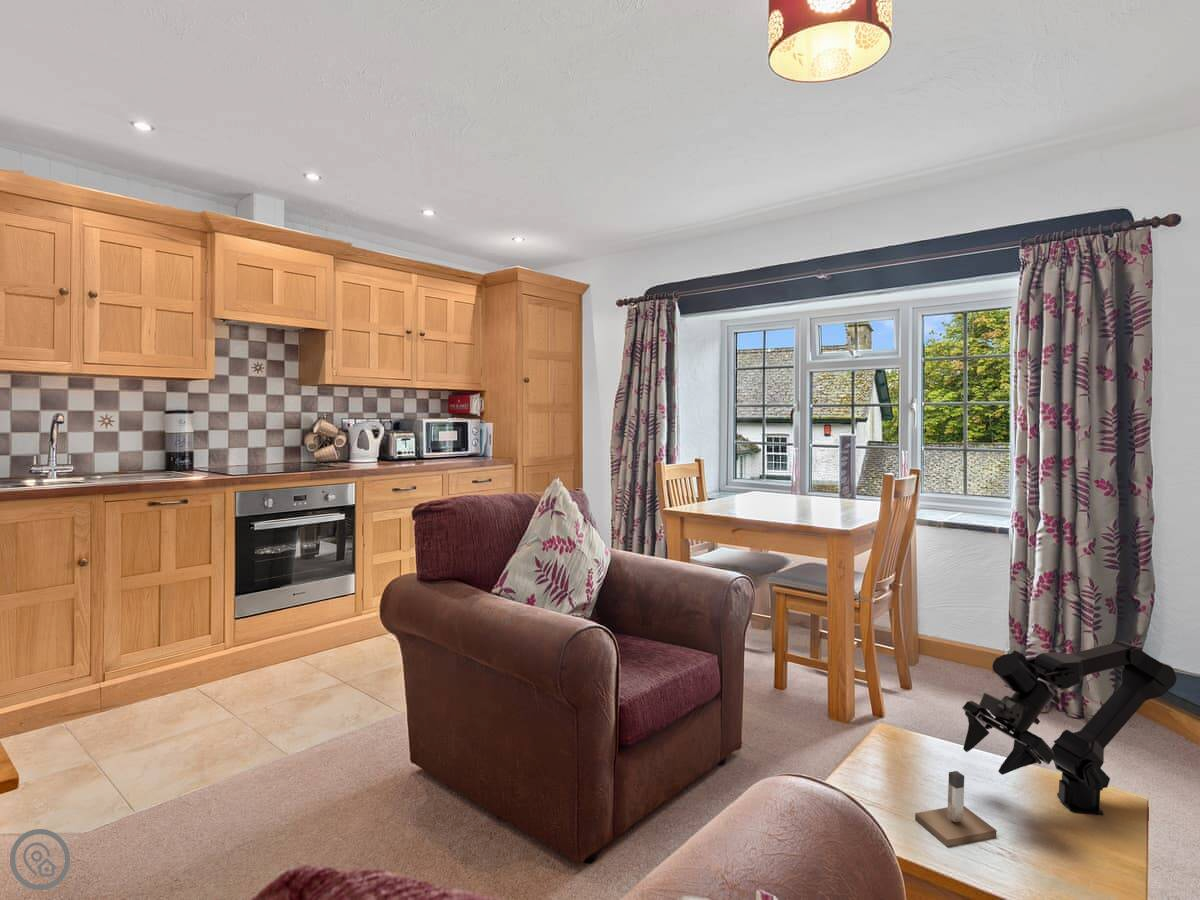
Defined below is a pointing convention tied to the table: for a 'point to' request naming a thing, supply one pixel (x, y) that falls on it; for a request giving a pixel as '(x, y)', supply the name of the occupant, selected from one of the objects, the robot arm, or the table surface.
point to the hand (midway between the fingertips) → (981, 761)
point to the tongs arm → (957, 797)
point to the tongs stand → (955, 824)
